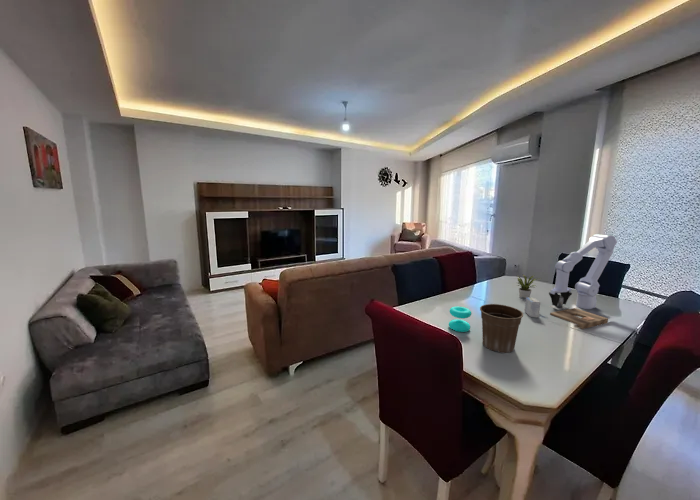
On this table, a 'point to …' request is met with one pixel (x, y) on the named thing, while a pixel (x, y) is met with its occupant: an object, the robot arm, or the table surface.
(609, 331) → the table surface
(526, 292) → the house plant
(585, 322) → the hole plate
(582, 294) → the robot arm
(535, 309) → the medicine box
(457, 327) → the donuts
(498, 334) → the plant pot
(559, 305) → the steel peg
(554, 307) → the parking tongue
